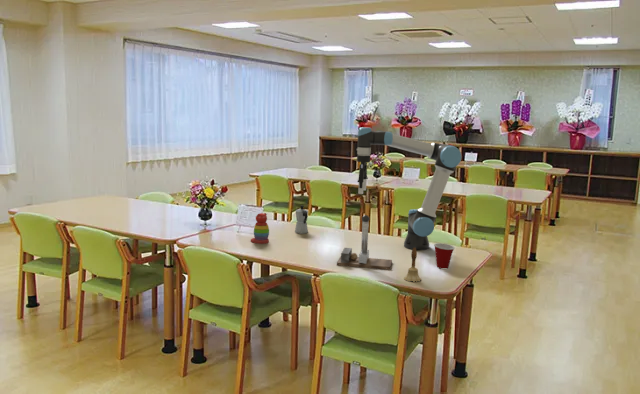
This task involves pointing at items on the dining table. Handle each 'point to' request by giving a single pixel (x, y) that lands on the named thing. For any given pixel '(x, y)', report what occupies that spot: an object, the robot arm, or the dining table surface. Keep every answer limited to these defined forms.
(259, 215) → the stacking bear
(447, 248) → the plastic cup
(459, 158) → the robot arm
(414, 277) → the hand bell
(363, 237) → the grey upright post
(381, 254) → the dining table surface
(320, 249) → the dining table surface
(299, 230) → the coffee maker
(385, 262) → the press base
